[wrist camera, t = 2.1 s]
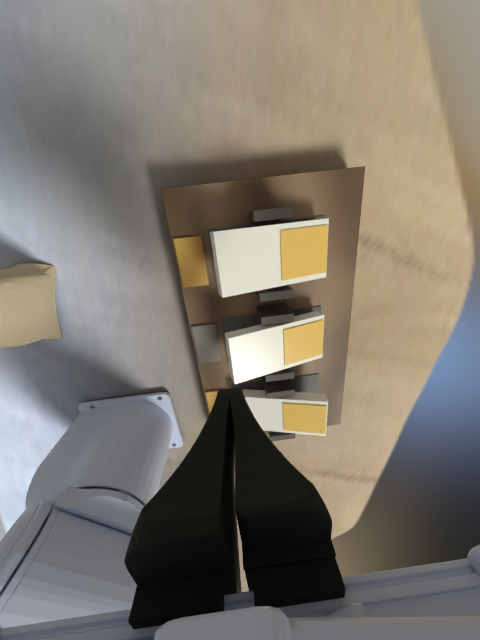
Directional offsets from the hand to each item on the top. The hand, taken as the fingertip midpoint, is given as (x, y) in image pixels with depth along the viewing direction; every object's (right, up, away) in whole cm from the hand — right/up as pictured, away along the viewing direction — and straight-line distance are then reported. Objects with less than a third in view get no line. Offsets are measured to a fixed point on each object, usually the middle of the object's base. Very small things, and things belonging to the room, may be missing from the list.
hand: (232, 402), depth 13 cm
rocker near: (+3, +9, +2) cm, 10 cm away
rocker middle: (+4, +3, +5) cm, 7 cm away
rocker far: (+4, -4, +8) cm, 10 cm away
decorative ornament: (-17, +7, +6) cm, 20 cm away
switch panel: (+3, +4, +9) cm, 10 cm away
